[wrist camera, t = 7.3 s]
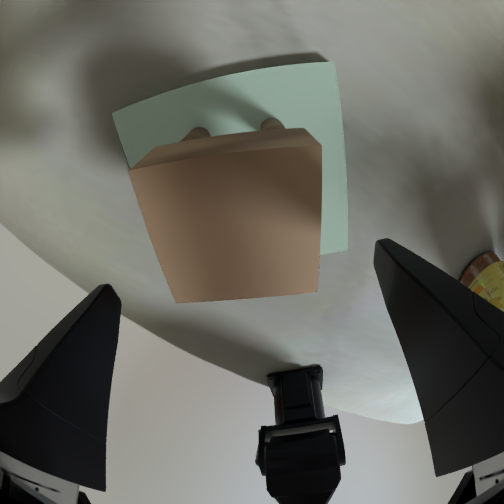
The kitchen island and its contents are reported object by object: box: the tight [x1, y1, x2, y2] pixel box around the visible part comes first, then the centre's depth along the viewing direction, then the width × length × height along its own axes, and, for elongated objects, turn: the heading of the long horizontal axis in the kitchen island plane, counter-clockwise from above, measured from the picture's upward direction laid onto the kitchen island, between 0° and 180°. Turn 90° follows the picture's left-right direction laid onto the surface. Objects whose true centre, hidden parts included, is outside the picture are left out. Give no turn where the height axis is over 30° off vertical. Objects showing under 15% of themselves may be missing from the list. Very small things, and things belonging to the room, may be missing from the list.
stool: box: [129, 118, 322, 303], centre depth 11 cm, size 6×6×7 cm
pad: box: [111, 62, 348, 255], centre depth 15 cm, size 12×12×1 cm
